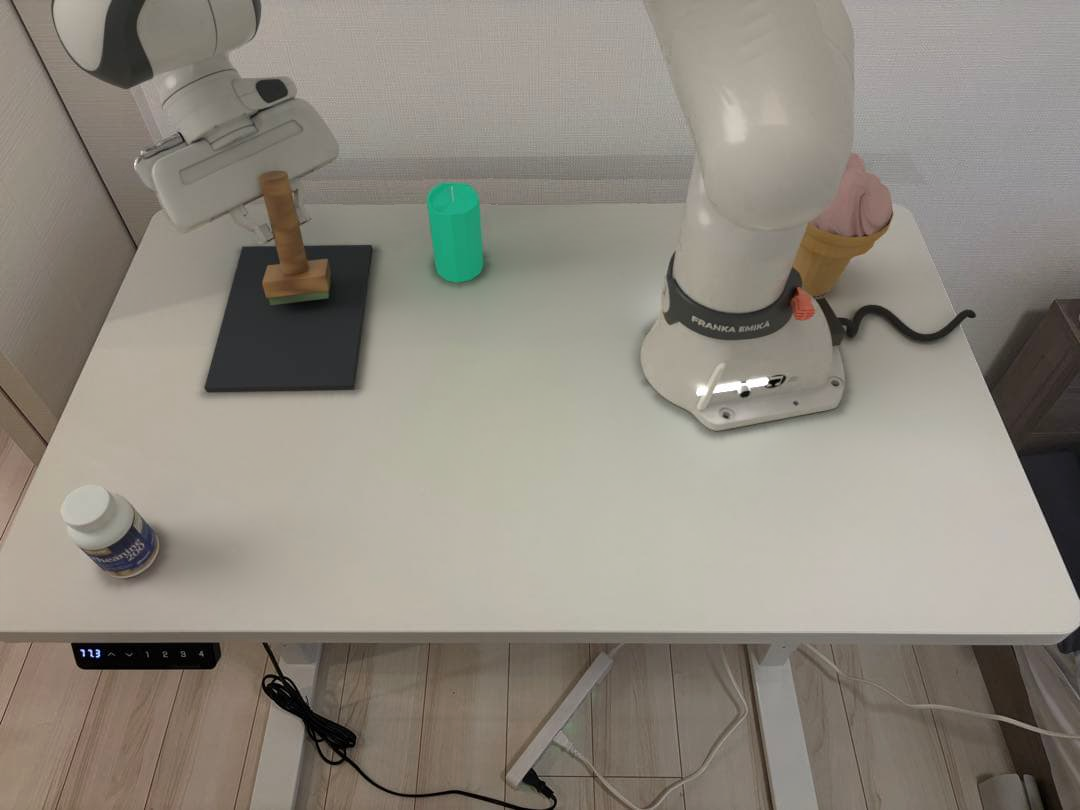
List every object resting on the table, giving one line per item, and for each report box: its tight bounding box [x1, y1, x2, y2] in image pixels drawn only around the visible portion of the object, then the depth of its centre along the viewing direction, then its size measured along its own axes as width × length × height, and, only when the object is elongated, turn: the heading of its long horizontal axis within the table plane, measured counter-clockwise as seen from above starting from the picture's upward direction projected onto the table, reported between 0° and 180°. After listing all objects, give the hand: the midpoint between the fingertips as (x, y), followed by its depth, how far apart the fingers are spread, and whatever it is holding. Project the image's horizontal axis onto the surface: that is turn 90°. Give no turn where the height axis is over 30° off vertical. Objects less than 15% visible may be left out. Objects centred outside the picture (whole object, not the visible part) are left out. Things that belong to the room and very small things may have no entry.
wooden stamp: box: [259, 171, 331, 305], centre depth 89 cm, size 7×5×14 cm
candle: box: [426, 182, 485, 283], centre depth 93 cm, size 6×6×12 cm
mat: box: [204, 244, 373, 393], centre depth 93 cm, size 16×22×1 cm
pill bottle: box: [60, 484, 160, 579], centre depth 71 cm, size 5×5×10 cm
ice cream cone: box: [793, 151, 894, 297], centre depth 89 cm, size 11×11×20 cm
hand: (287, 232), depth 89 cm, fingers closed on wooden stamp, 3 cm apart
